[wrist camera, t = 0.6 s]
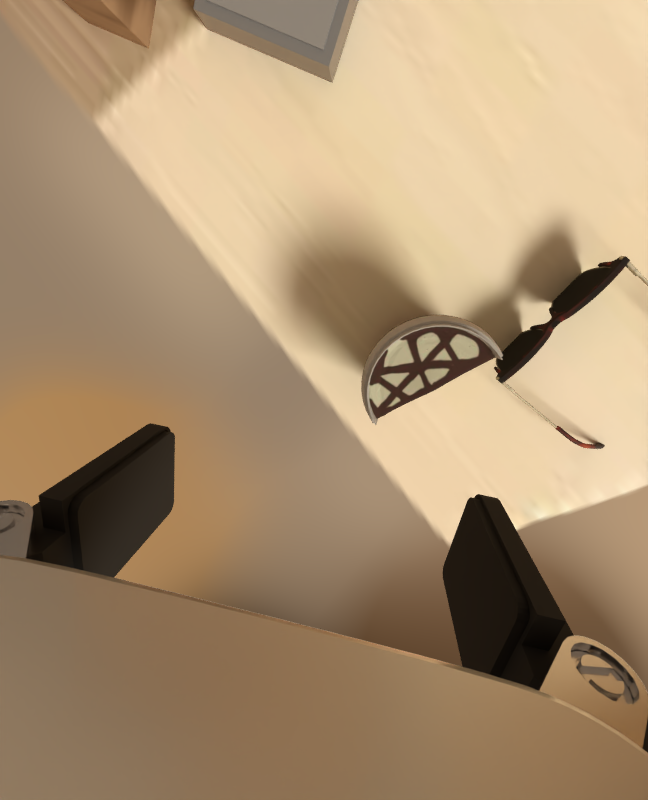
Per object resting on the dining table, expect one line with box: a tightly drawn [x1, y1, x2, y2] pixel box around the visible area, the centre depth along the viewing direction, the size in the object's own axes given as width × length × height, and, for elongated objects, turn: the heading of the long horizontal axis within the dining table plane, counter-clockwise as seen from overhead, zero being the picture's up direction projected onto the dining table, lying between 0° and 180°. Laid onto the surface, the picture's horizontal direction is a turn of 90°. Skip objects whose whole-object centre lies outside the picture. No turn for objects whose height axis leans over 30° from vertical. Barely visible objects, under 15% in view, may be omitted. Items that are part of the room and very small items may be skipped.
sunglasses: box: [494, 256, 648, 449], centre depth 34 cm, size 14×16×5 cm
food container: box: [361, 315, 503, 425], centre depth 33 cm, size 12×6×10 cm, turn 123°
